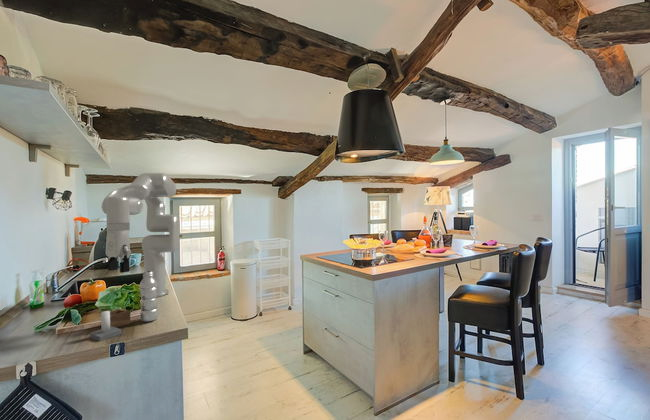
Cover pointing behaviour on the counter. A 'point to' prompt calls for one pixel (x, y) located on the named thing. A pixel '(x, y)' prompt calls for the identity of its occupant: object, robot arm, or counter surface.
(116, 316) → the wooden block with hole
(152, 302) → the plastic bottle
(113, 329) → the post base
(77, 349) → the counter surface
